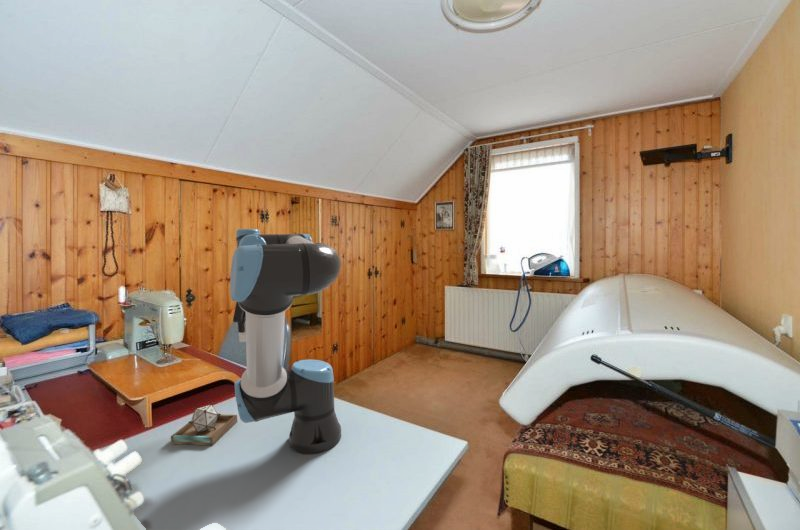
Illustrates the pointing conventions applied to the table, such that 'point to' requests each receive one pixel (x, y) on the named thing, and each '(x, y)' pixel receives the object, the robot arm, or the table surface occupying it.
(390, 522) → the table surface
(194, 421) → the game die
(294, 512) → the table surface
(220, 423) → the brown wooden tray
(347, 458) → the table surface
